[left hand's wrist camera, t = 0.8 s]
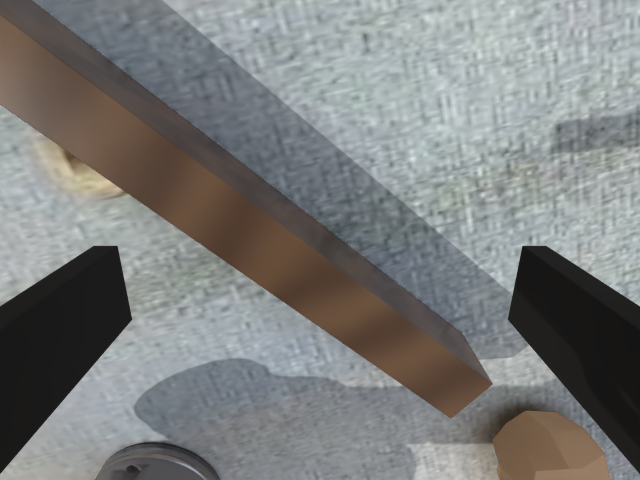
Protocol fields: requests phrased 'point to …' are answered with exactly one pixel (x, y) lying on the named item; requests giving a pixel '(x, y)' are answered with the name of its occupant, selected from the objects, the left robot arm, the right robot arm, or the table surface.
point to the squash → (547, 449)
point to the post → (225, 205)
